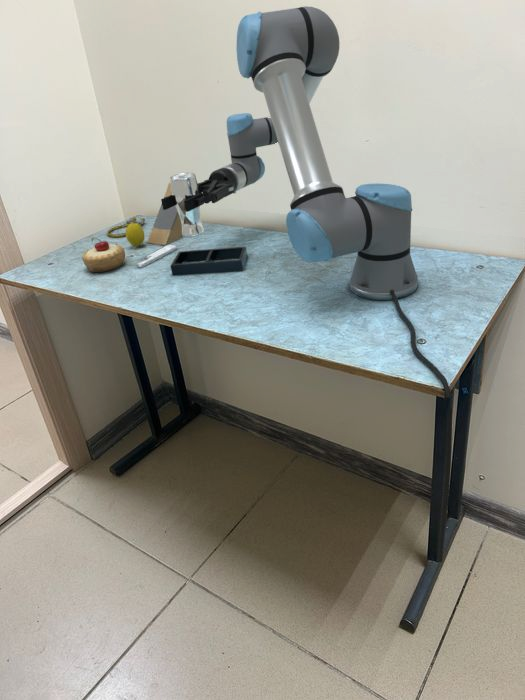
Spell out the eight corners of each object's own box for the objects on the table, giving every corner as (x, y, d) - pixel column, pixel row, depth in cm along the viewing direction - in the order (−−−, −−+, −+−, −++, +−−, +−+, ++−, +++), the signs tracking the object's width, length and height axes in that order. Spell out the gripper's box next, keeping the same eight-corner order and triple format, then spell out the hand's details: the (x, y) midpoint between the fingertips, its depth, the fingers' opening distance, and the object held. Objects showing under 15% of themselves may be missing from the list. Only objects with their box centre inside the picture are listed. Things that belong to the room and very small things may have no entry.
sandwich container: (145, 242, 173) (134, 196, 165) (177, 227, 183) (168, 182, 176) (165, 245, 169) (154, 197, 161) (196, 229, 179) (188, 183, 171)
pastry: (113, 275, 152) (104, 245, 147) (78, 274, 156) (68, 245, 151) (134, 259, 161) (127, 230, 157) (101, 258, 165) (93, 230, 161)
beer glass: (208, 227, 148) (198, 171, 140) (203, 236, 142) (192, 178, 134) (183, 229, 148) (172, 174, 141) (177, 238, 143) (165, 180, 135)
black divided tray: (242, 270, 144) (241, 260, 143) (172, 275, 147) (170, 265, 145) (247, 256, 153) (245, 246, 151) (180, 261, 155) (178, 251, 154)
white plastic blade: (129, 265, 157) (128, 261, 157) (165, 247, 167) (164, 243, 167) (141, 267, 154) (140, 263, 154) (177, 248, 164) (176, 245, 164)
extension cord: (156, 225, 188) (155, 219, 187) (118, 240, 179) (117, 234, 178) (137, 220, 195) (135, 215, 194) (99, 234, 186) (97, 228, 185)
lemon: (128, 246, 172) (122, 221, 168) (145, 242, 173) (140, 218, 169) (130, 251, 168) (123, 226, 164) (147, 247, 169) (142, 222, 165)
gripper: (257, 195, 150) (207, 222, 134) (201, 192, 160) (149, 217, 144) (254, 167, 146) (202, 192, 130) (197, 166, 156) (142, 189, 140)
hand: (174, 205), depth 137 cm, fingers closed on beer glass, 7 cm apart
